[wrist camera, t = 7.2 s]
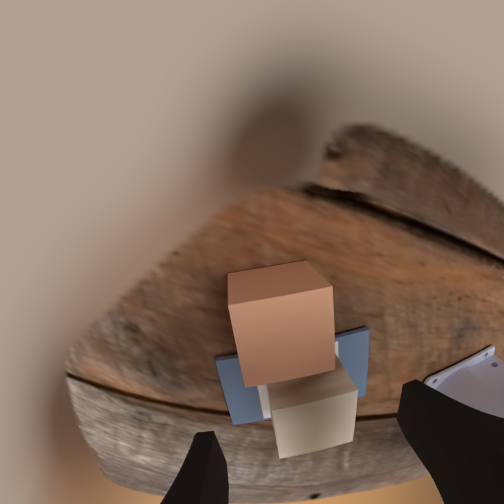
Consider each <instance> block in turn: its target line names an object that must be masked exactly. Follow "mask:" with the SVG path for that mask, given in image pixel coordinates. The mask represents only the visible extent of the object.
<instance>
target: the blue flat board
mask: <svg viewBox="0 0 504 504" xmlns="http://www.w3.org/2000/svg"><path fill="white" fill-rule="evenodd" d="M369 334H370V329H369V328H368V327H364V328H360V329H356V330H353V331H349V332H345V333H341V334H337V335H335V354H336V355H337V357H338V358H339V360H340V362H341V363H342V365H343V366H344V368H345V370H346V371H347V373H348V375H349V376H350V378H351V379H352V381H353V383H354V384H355V386H356V388H357V389H358V396H357V398H360V397H363V396H366V386H367V373H368V357H369ZM215 363H216V366H217V370H218V374H219V377H220V381H221V385H222V388H223V392H224V395H225V399H226V402H227V406H228V409H229V412H230V416H231V419H232V422H233V425H237V424H244V423H251V422H257V421H263V420H269V419H271V414H270V409H269V403H268V397H267V390H266V384H265V385H259V386H253V387H246V388H245V385H244V380H243V375H242V371H241V366H240V362H239V357H238V354H236V355H230V356H223V357H216V358H215Z"/></svg>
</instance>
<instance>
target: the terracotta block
mask: <svg viewBox="0 0 504 504" xmlns="http://www.w3.org/2000/svg"><path fill="white" fill-rule="evenodd" d="M228 308H229V313H230V318H231V323H232V328H233V333H234V338H235V343H236V347H237V352H238V357H239V362H240V366H241V371H242V375H243V380H244V385H245V388H246V387H253V386H259V385H265V384H270V383H276V382H281V381H286V380H291V379H296V378H301V377H305V376H310V375H314V374H318V373H323V372H327V371H331V370H335V329H334V305H333V287H332V285H331V284H330V283H329V282H328V281H327V280H326V279H325V278H324V277H323V276H322V275H321V274H320V273H319V272H318V271H317V270H316V269H315V268H314V267H313V266H312V265H311V264H310V263H309V262H308V261H307V260H304V261H298V262H293V263H287V264H281V265H275V266H269V267H263V268H257V269H251V270H245V271H239V272H233V273H228Z"/></svg>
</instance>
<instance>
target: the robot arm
mask: <svg viewBox="0 0 504 504" xmlns="http://www.w3.org/2000/svg"><path fill="white" fill-rule="evenodd" d="M494 351H495V347H494V346H493V345H491V346H490V347H488V348H486V349H484V350H482V351H481V352H479V353H477V354H475V355H473V356H471V357H470V358H468V359H466V360H464V361H462V362H460V363H458V364H456V365H454V366H452V367H450V368H448V369H446V370H443V371H441V372H439V373H437V374H435V375H432V376H430V377H428V378H427V379H426V380H425V382H424V383H422V382H420V381H418V380H417V379H415V380H413V381H410V382H408V383H405V384H403V388H402V393H401V399H400V404H399V409H398V414H397V418H396V419H397V421H398V423H399V425H400V427H401V430H402V432H403V434H404V436H405V438H406V439H407V441H408V442H409V444H410V445H411V447H412V448H413V450H414V451H415V453H416V454H417V456H418V457H419V458H420V460H421V461H422V463H423V464H424V466H425V467H426V469H427V470H428V472H429V473H430V475H431V476H432V478H433V480H434V482H435V484H436V486H437V488H438V490H439V492H440V494H441V497H442V499H443V501H444V504H504V362H503V361H502V360H500V359H499V358H498V357H496V356H495V355H494ZM228 495H229V482H228V473H227V464H226V460H225V457H224V455H223V453H222V450H221V448H220V445H219V443H218V440H217V438H216V435H215V433H214V431H208V432H197V433H196V434H195V436H194V439H193V442H192V444H191V447H190V449H189V452H188V454H187V456H186V458H185V461H184V463H183V465H182V467H181V469H180V471H179V473H178V475H177V477H176V479H175V480H174V482H173V484H172V486H171V487H170V489H169V491H168V492H167V494H166V496H165V497H164V499H163V500H162V502H161V503H160V504H228Z"/></svg>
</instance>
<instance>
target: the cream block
mask: <svg viewBox="0 0 504 504" xmlns="http://www.w3.org/2000/svg"><path fill="white" fill-rule="evenodd" d="M266 390H267V397H268V403H269V409H270V414H271V419H272V424H273V429H274V434H275V439H276V443H277V448H278V453H279V458H280V459H281V458H286V457H292V456H296V455H301V454H306V453H310V452H314V451H318V450H322V449H326V448H330V447H334V446H337V445H341V444H344V443H348V442H351V441H353V434H354V426H355V417H356V407H357V396H358V389H357V388H356V386H355V384H354V383H353V381H352V379H351V378H350V376H349V375H348V373H347V371H346V370H345V368H344V366H343V365H342V363H341V362H340V360H339V358H338V357H337V355H336V354H335V370H331V371H327V372H323V373H318V374H314V375H310V376H305V377H301V378H296V379H291V380H286V381H281V382H276V383H270V384H266Z"/></svg>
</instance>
